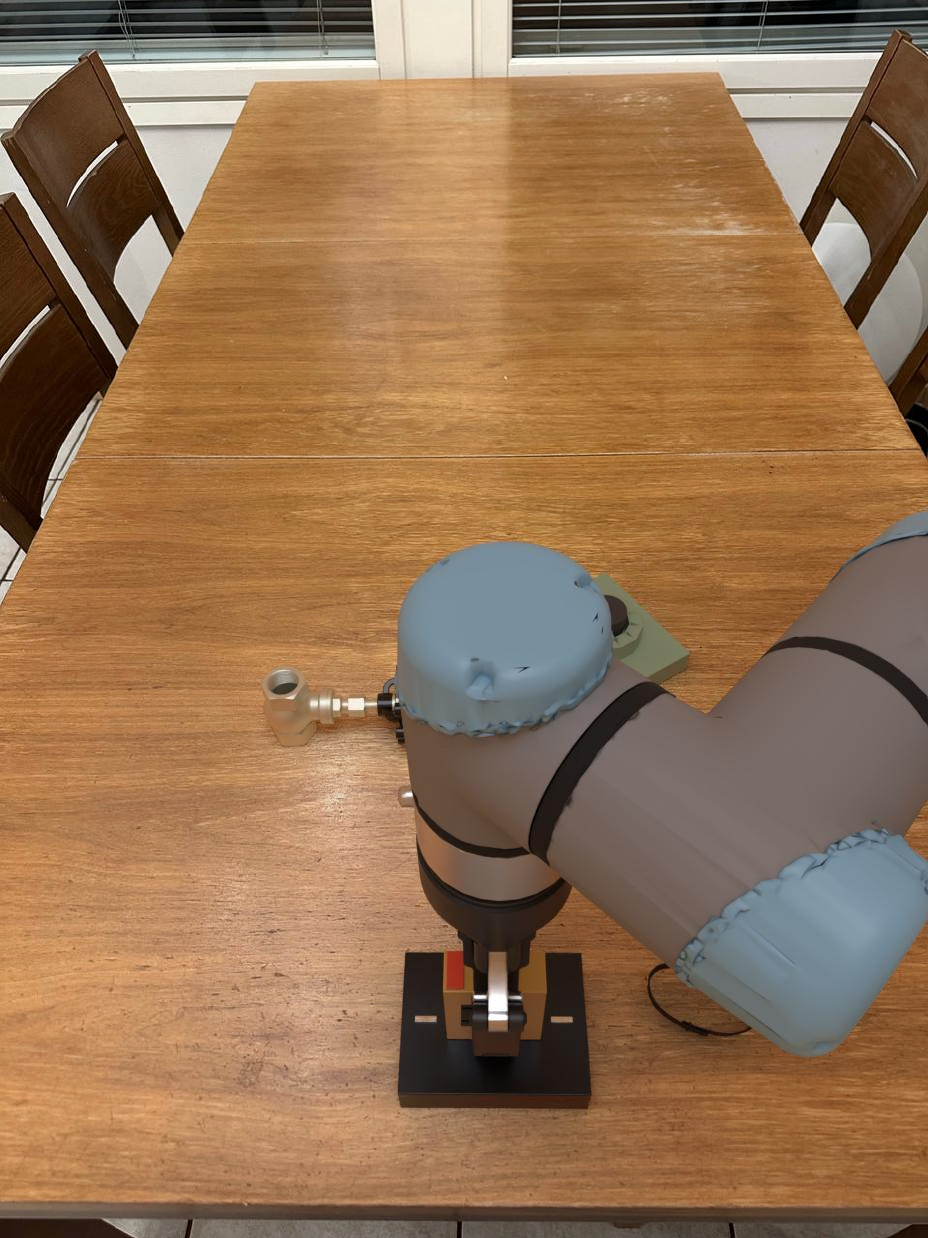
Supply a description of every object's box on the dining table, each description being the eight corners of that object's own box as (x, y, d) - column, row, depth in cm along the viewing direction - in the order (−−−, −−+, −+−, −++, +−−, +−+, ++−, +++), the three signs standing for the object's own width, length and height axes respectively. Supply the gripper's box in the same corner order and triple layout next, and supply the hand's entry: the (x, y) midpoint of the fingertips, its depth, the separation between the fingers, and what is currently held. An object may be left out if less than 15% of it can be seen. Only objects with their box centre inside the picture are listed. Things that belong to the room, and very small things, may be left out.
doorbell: (686, 668, 84) (694, 639, 81) (597, 718, 81) (602, 689, 78) (603, 587, 91) (607, 558, 88) (518, 630, 88) (519, 600, 85)
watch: (760, 988, 65) (772, 967, 63) (755, 1057, 62) (767, 1038, 60) (649, 958, 67) (656, 936, 64) (638, 1024, 64) (645, 1004, 61)
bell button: (633, 627, 83) (635, 613, 82) (601, 644, 82) (602, 630, 80) (607, 602, 85) (610, 588, 84) (575, 618, 84) (577, 605, 82)
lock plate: (578, 970, 66) (581, 951, 64) (588, 1109, 60) (592, 1094, 58) (407, 969, 67) (404, 950, 64) (400, 1108, 61) (397, 1093, 58)
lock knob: (539, 1000, 62) (545, 949, 56) (540, 1040, 60) (547, 991, 54) (447, 1000, 62) (443, 948, 56) (446, 1039, 60) (442, 991, 54)
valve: (266, 763, 78) (410, 760, 78) (251, 715, 73) (405, 712, 73) (275, 699, 83) (412, 696, 83) (262, 651, 78) (407, 648, 78)
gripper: (422, 693, 48) (438, 899, 66) (406, 1002, 38) (431, 1150, 55) (569, 693, 48) (546, 900, 66) (593, 1003, 38) (559, 1151, 55)
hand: (493, 1014), depth 61 cm, fingers closed on lock knob, 2 cm apart
